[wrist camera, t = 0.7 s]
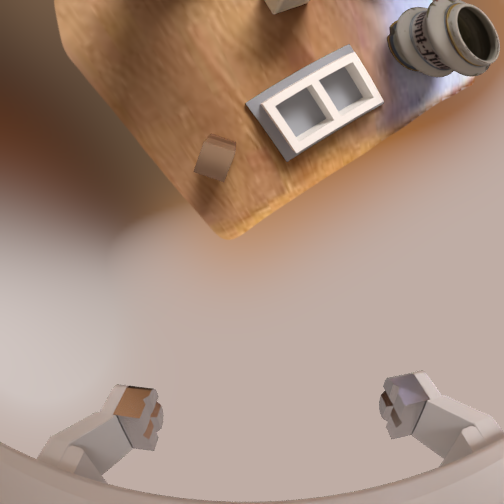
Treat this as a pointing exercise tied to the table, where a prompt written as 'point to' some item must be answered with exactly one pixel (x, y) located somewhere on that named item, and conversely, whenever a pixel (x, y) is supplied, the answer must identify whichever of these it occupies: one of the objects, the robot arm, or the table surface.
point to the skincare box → (283, 4)
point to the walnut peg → (215, 157)
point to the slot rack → (315, 102)
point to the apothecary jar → (444, 39)
